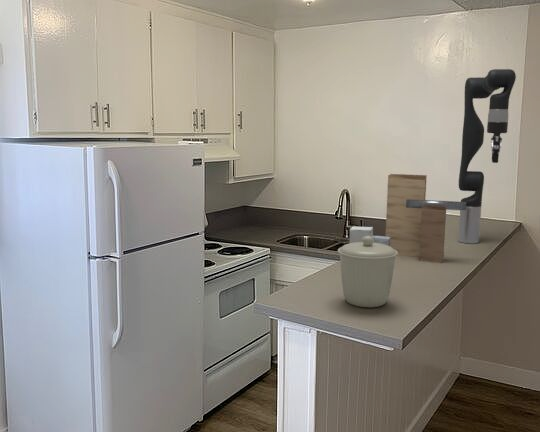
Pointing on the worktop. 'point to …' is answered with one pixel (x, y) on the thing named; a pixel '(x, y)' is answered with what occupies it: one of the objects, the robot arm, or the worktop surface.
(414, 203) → the pin
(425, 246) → the tall wooden post
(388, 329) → the worktop surface
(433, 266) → the worktop surface
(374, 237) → the medicine box
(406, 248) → the stand
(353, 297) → the canister
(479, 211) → the robot arm
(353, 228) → the skincare box
